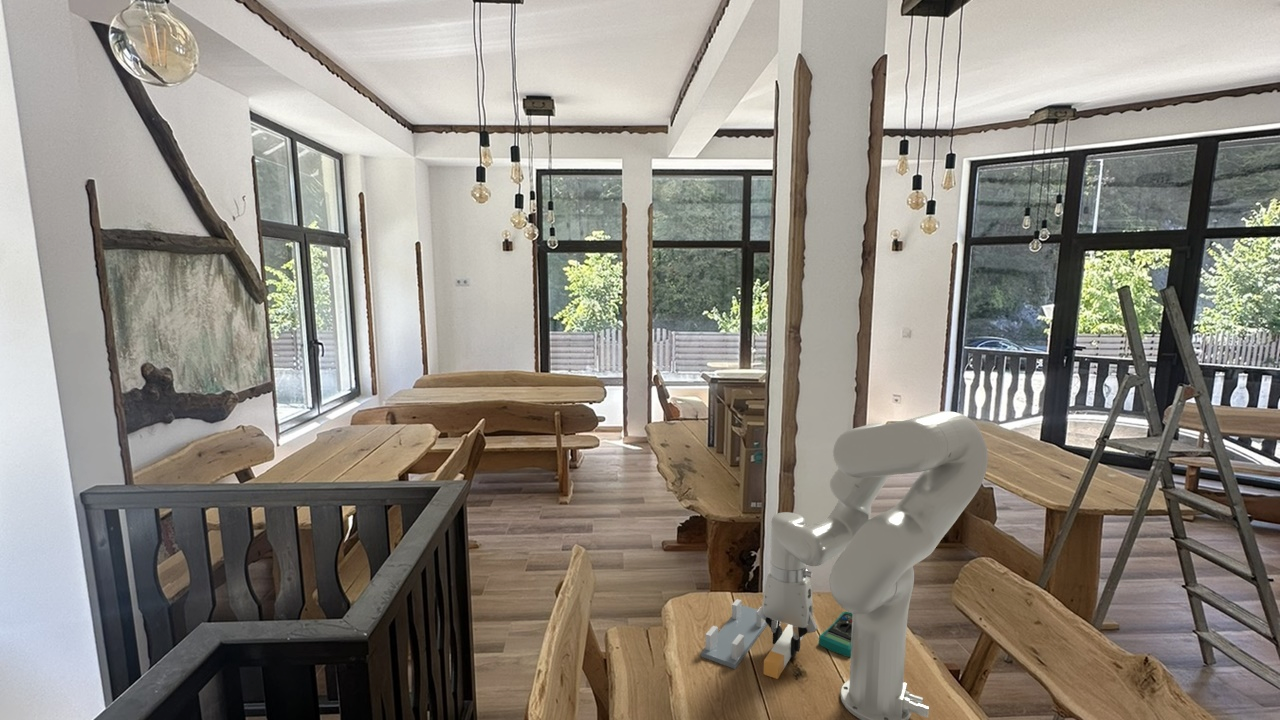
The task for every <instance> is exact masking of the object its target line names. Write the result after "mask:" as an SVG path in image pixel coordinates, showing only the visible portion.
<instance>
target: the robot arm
mask: <svg viewBox="0 0 1280 720" xmlns="http://www.w3.org/2000/svg"><path fill="white" fill-rule="evenodd" d="M832 453H833V461H834V463H835V465H836V467H837V469H836V470H835V472H834V474H833V475H832V477H831V479H830V482H829V488H830V491H831V493H832V495H833V496H834V497H835V498H836V500H838V501H837V503H836V504H835V506H834V507H833V510H832V511H831V513H830V514H829V516H827V518H826V519H824V520H821V521H818V522H816V523H814V524H811V525H808V522H807V520H806V519H805V517H803V515H801V514H799V513H794V512H790V511H784V512H778V513H776V514H774V515H773V516H772V517H771V520H770V556H769V557H770V560H769V561H770V563H769V566H770V568H769V571H768V572H767V575H766V578H765V584H764V589H763V599H762V604H761V606H762V607H761V606H760V607H761V608H760V607H759V608H760V610H759V611H758V615H759V616H760V617H761V618H763V619H764V620H765V621H766V623H767V624H768V625H767V626H768V627H769V628H770V632H771V633H772V644H773V645H775V643H776V642H777V640H778V639H779V638H780V637H781V635H782V633H783V627H781V623H784V624H787V625H788V624H790V625H792V626H793V637H792V638H791V657H795V655H796V654H797V653H799V652H800V650H801V641H800V637H802V636H803V635H804V636H805V635H807V634H812V633H816V632H817V630H818V628H819V627H818V625H817V623H816V621H815V618H814V617H813V615H814V604H813V603H814V602H813V592H812V591H813V590H812V586H811V584H812V583H811V579H810V578H813V571H812V570H809V569H808V566H810V567H819V566H821V565H823V564H825V563H827V562H830V561H832V559H835V558H837V557H838V558H837V560H836V561H835V562H834V564H833V566H832V568H831V571H830V573H829V589H830V592H831V595H832V597H833V599H834V601H835V602H836V603H837V605H838V606H840V608H842V609H843V610H845V611H846V612H850V613H853V618H852V637H851V657H850V662H849V663H850V665H849V679H848V680H847V681H845V682H844V683H843V684H842V686H841V687H840V700H841V702H842V704H843V706H844V707H845V709H846V710H847V711H848V712H850V713H851V714H852V715H853V716H855V717H856V718H857V719H859V720H910V718H911V716H912V713H914V714H916V715H919V716H921V717H924V718H929V711H930V709H929V708H930V706H928V705H926V704H924V697H922V696H919V695H915V694H913V693H910V692H911V691H908V690H907V686H908V683H907V682H904V681H905V679H904V677H905V663H906V662H905V661H906V659H905V658H906V642H907V639H906V638H907V627H908V616H909V615H908V614H909V609H910V601H911V597H912V594H913V593H912V592H913V590H914V589H913V588H914V582H915V572H914V571H915V570H914V567H913V566H915V565H917V564H919V563H920V562H922V561H923V560H925V559H926V558H928V557H929V556H930V555H932V553H933V552H934V551H935V549H936V547H938V545H939V544H940V542H941V540H943V538H944V537H945V535H946V534H947V533H948V532H949V531H950V529H952V527H953V525H954V524H955V523H956V521H957V520H958V519H959V517H960V516H961V514H962V513H963V512H964V511H965V509H966V508H967V506H968V505H969V504H970V502H971V501H972V500H973V498H974V497H975V495H977V493H978V492H979V489H980V488H981V486H982V484H983V481H984V479H985V476H986V473H987V468H988V461H989V455H988V449H987V444H986V440H985V438H984V436H983V433H982V432H981V430H980V429H979V427H978V426H977V425H976V423H975V422H974V421H973V420H972V419H971V418H969V417H968V416H966V415H965V414H963V413H960V412H955V411H949V410H944V411H935V412H932V413H927V414H924V415H921V416H916V417H913V418H909V419H905V420H901V421H897V422H891V423H886V424H885V423H881V422H880V423H870V424H866V425H862V426H859V427H855V428H851V429H848V430H846V431H844V432H843V433H842V434H840V435H839V436H838V437H837V439H836V441H835V443H834V446H833V450H832ZM921 472H922V473H921ZM913 473H921V474H920V475H919V476H918V478H917V479H915V481H914V482H913V483H912V485H911V487H910V488H909V490H908V491H907V493H906V494H905V495H904V496H903V497H902V499H901V500H900V501H899V502H898V503H897V504H896V505H895V506H894V507H892V508H889V510H887V511H884V512H882V513H880V514H878V515H876V516H873V517H872V518H871V515H872V504H873V502H874V501H875V500H876V498H877V496H878V495H879V494H880V492H881V490H882V488H883V487H884V485H885V484H886V483H887V481H888V479H889V478H890V476H896V475H904V474H907V475H908V474H913ZM804 636H803V637H804Z"/></svg>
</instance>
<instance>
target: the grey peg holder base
mask: <svg viewBox="0 0 1280 720" xmlns="http://www.w3.org/2000/svg"><path fill="white" fill-rule="evenodd" d="M761 607H762V605H761V606H760V607H759V608H758V609H757V608H754V607H750V606H747V605H744V604H742V599H738V598H736V600H734V601H733V603H731V617H730V618H729V619H728V620H727V621H726V622H725V624H723V626H722V627H721V628H720V630H719V627H718V626H717V625H712V626H711V627H710V628H709V630H707V632H706V633H705V642H704V644H705V645H704V648H703V649H702V651H701V652H700V657H701V658H704V659H707V660H709V661H712V662H715V663H718V664H720V665H722V666H726V667H729V668H731V669H734V670H736V669H737V667H738V666H739V665H740V663H741V662H742V660H743V659H744V658H745V656H746V655H747V654H748V653H749V650H751V648H752V647H753V646H754V644H755V642H756V641H757V640H758V638H759V637H760V636H761V635H762V633H763V632H764V630H765V629H766V627H767V626H769V625H768V624H767V623H766V621H765V620H764V619H763V618H761V617H760V616H759V615H758V611H759V610H760V608H761Z"/></svg>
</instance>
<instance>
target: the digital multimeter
mask: <svg viewBox="0 0 1280 720" xmlns="http://www.w3.org/2000/svg"><path fill="white" fill-rule="evenodd" d="M852 618H853V613H851V612H849V611H843V612H841V614H839V616H838V617H837V618H836V620H835V621H834V622H833V623H832V624H831V625H830V626H829V627H828V628H827V629H825V631H823V632H822V633H821V634H820V635H819V636H818V645H819V646H820V647H822V648H825V649H827V650H829V651H831V652H834V653H835V654H839V655H842V656H845V657H847V658H851V637H852Z"/></svg>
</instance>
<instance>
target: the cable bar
mask: <svg viewBox="0 0 1280 720" xmlns="http://www.w3.org/2000/svg"><path fill="white" fill-rule="evenodd" d="M804 636H805V635H803V636H802V637H800V642H801V641H802V640H803V638H804ZM792 637H793V626H792V625H790V624H787V626H786V627H785V628H784V630H782V635H781V637H780V638H779V639H778V640H777V642H776V643H775V644H773V646H772V648H771V649H770V651H769V653H768V654H767V655H766V656H765V658H764V660H763V675H765V676H767V677H770V678H773V679H776V680H778V679H779V677H780V676H781V675H782V673H783V671H784V669H785V668H786V666H787V664H789V663H788V662H789V661H790V660H791V658H792V656H791V638H792Z"/></svg>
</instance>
